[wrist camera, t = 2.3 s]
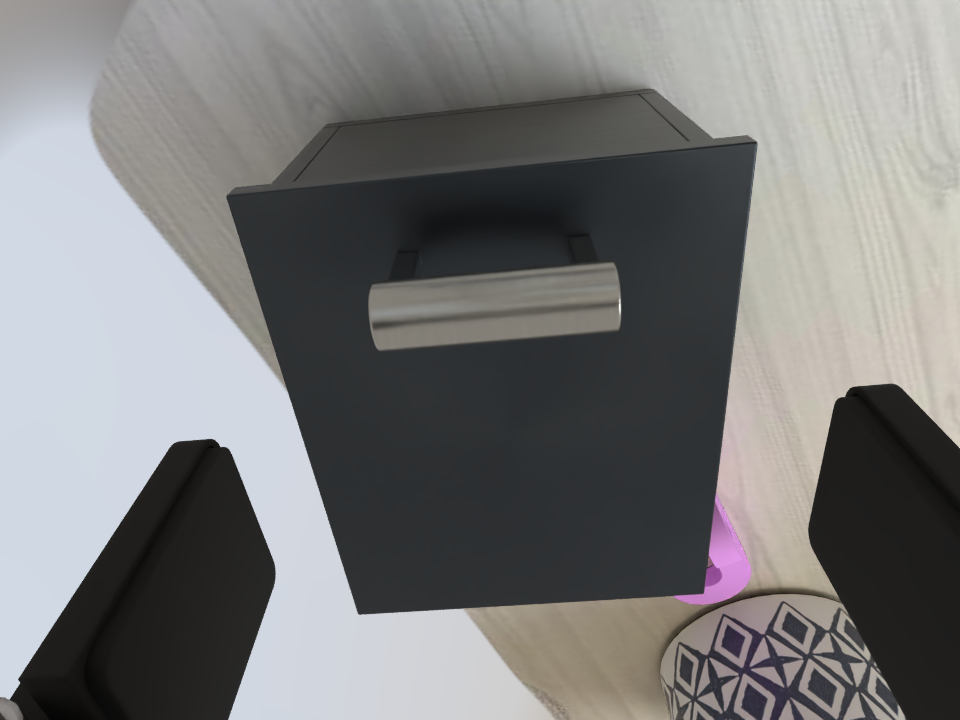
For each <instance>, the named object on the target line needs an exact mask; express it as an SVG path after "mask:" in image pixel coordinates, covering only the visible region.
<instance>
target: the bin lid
mask: <svg viewBox="0 0 960 720" xmlns="http://www.w3.org/2000/svg"><path fill="white" fill-rule="evenodd" d="M756 152H757V142H756V141H755V140H754V139H752V138H751V137H749V136H747V135H745V136H736V137H726V138H716V139H706V140H696V141H687V142H677V143H667V144H657V145H648V146H638V147H628V148H618V149H608V150H599V151H589V152H579V153H569V154H560V155H550V156H540V157H530V158H520V159H511V160H501V161H491V162H481V163H472V164H462V165H452V166H442V167H432V168H423V169H413V170H403V171H393V172H384V173H374V174H364V175H354V176H344V177H335V178H325V179H315V180H305V181H296V182H286V183H276V184H266V185H256V186H247V187H237V188H234V189H233V190H232V191H231V192H230V193H229V194H228V195H227V201H228V204H229V207H230V210H231V213H232V216H233V219H234V223H235V226H236V229H237V232H238V235H239V238H240V242H241V245H242V248H243V251H244V254H245V257H246V261H247V264H248V267H249V270H250V273H251V276H252V280H253V283H254V286H255V289H256V292H257V295H258V299H259V302H260V305H261V308H262V311H263V314H264V318H265V321H266V324H267V327H268V330H269V333H270V337H271V340H272V343H273V346H274V349H275V352H276V356H277V359H278V362H279V365H280V368H281V371H282V374H283V378H284V381H285V384H286V387H287V390H288V393H289V397H290V400H291V403H292V406H293V409H294V412H295V416H296V419H297V422H298V425H299V428H300V431H301V435H302V438H303V441H304V444H305V447H306V450H307V454H308V457H309V460H310V463H311V466H312V469H313V473H314V476H315V479H316V482H317V485H318V488H319V491H320V495H321V498H322V501H323V504H324V507H325V511H326V514H327V517H328V520H329V523H330V526H331V529H332V533H333V536H334V539H335V542H336V545H337V548H338V552H339V555H340V558H341V561H342V564H343V567H344V571H345V574H346V577H347V580H348V583H349V586H350V589H351V593H352V596H353V599H354V602H355V605H356V608H357V612H358V614H359V615H361V614H378V613H394V612H412V611H429V610H445V609H462V608H479V607H496V606H513V605H529V604H546V603H563V602H580V601H597V600H613V599H630V598H647V597H664V596H681V595H697V594H704V590H705V581H706V573H707V564H708V556H709V548H710V539H711V531H712V522H713V514H714V506H715V497H716V489H717V480H718V472H719V464H720V455H721V447H722V438H723V430H724V421H725V413H726V405H727V396H728V388H729V379H730V371H731V363H732V354H733V346H734V337H735V329H736V320H737V312H738V304H739V295H740V287H741V278H742V270H743V262H744V253H745V245H746V236H747V228H748V219H749V211H750V203H751V194H752V186H753V177H754V169H755V161H756Z"/></svg>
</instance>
